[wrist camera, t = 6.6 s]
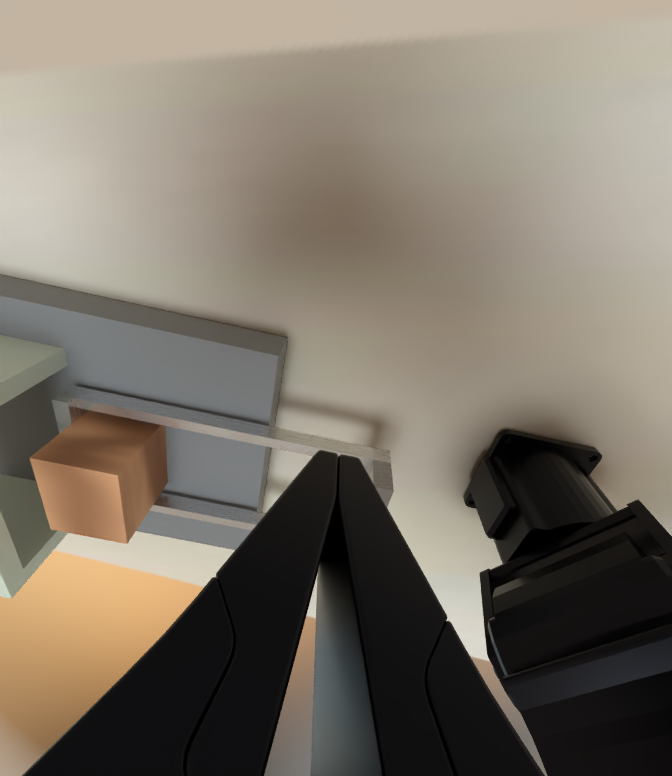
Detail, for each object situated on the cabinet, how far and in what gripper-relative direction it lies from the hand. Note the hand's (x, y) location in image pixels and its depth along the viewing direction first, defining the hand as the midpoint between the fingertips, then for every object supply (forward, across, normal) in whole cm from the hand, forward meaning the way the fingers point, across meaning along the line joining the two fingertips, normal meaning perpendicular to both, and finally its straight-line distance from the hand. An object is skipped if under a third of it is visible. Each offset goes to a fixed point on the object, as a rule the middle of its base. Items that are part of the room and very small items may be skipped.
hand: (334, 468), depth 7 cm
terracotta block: (+10, +11, +11) cm, 19 cm away
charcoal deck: (+13, +16, +11) cm, 23 cm away
